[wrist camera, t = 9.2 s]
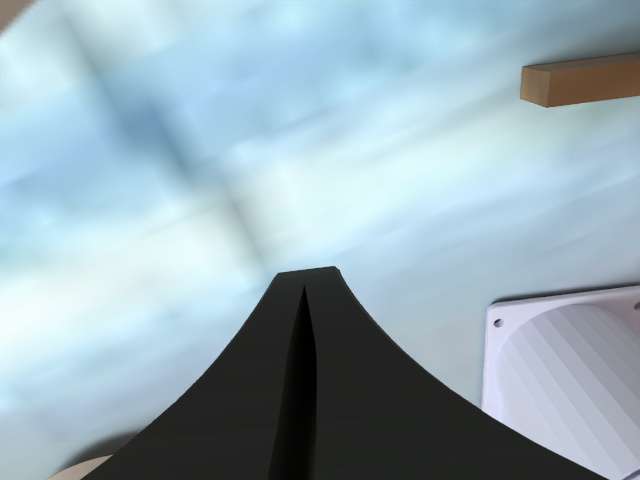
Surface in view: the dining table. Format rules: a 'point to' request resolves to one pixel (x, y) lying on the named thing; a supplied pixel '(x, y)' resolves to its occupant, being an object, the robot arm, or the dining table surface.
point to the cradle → (582, 80)
